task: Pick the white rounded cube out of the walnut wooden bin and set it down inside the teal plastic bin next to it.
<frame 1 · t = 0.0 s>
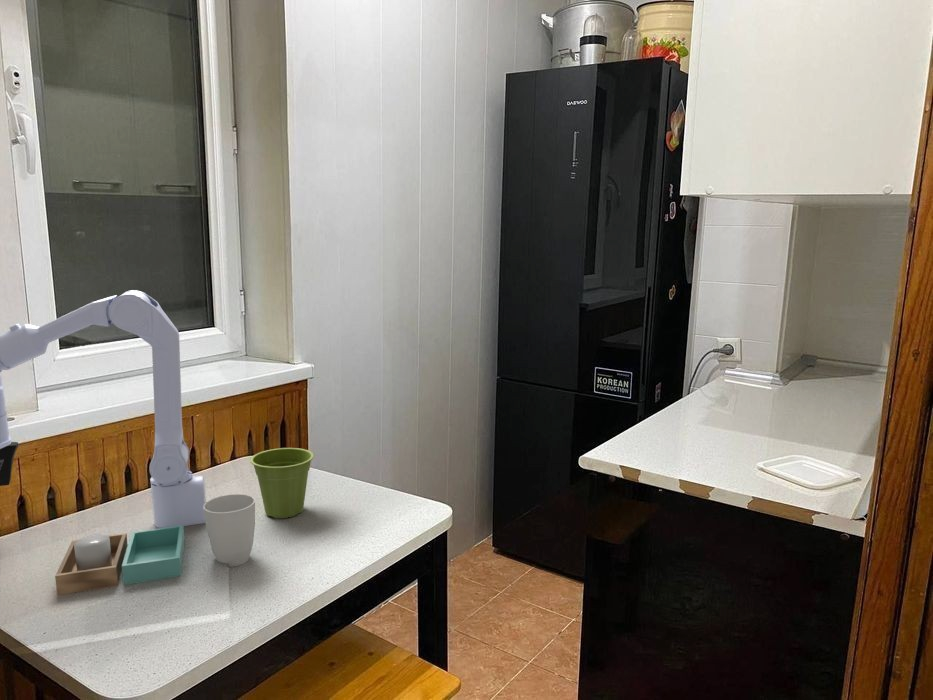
white rounded cube: (95, 570, 113), point 1 cm above the table, touching walnut bin
cup: (233, 560, 118), on the table
walnut bin: (95, 575, 113), on the table
teal bin: (156, 566, 116), on the table
plant pot: (285, 513, 138), on the table
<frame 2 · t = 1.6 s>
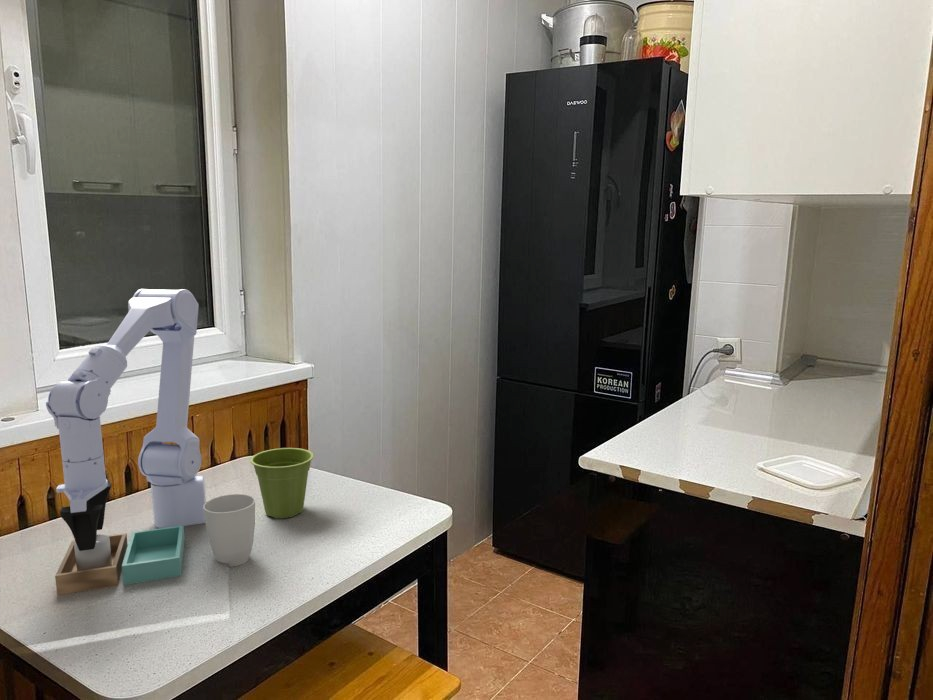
hand: (91, 539, 112), 6 cm above the table, tool pointing down, fingers open, 7 cm apart
nothing on the table moved.
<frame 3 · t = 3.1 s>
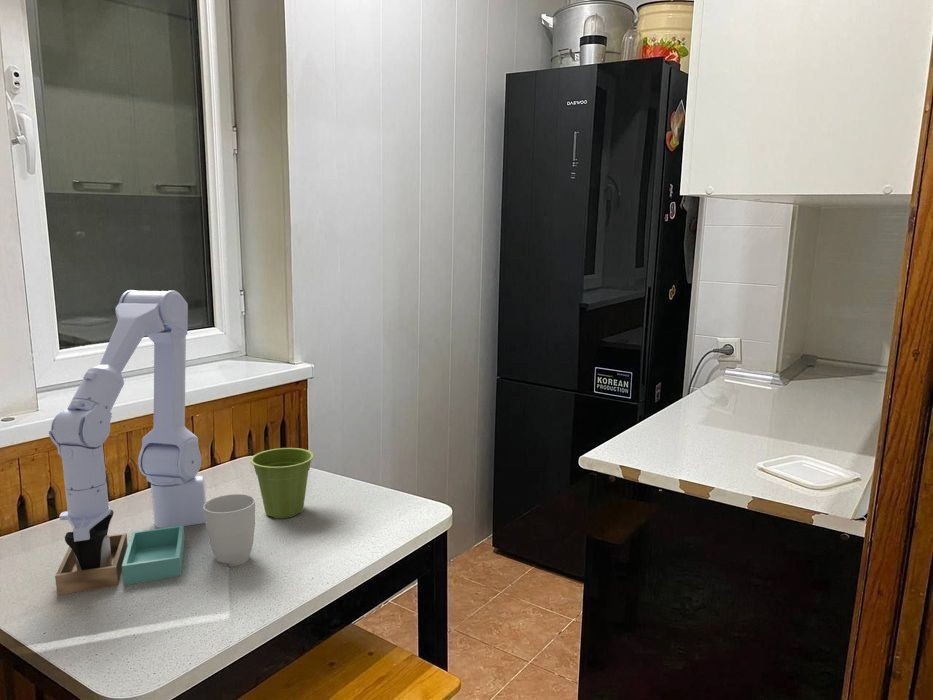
hand: (94, 565, 113), 2 cm above the table, tool pointing down, fingers closed on white rounded cube, 5 cm apart
white rounded cube: (95, 570, 113), point 1 cm above the table, touching gripper, walnut bin
everything else where it was.
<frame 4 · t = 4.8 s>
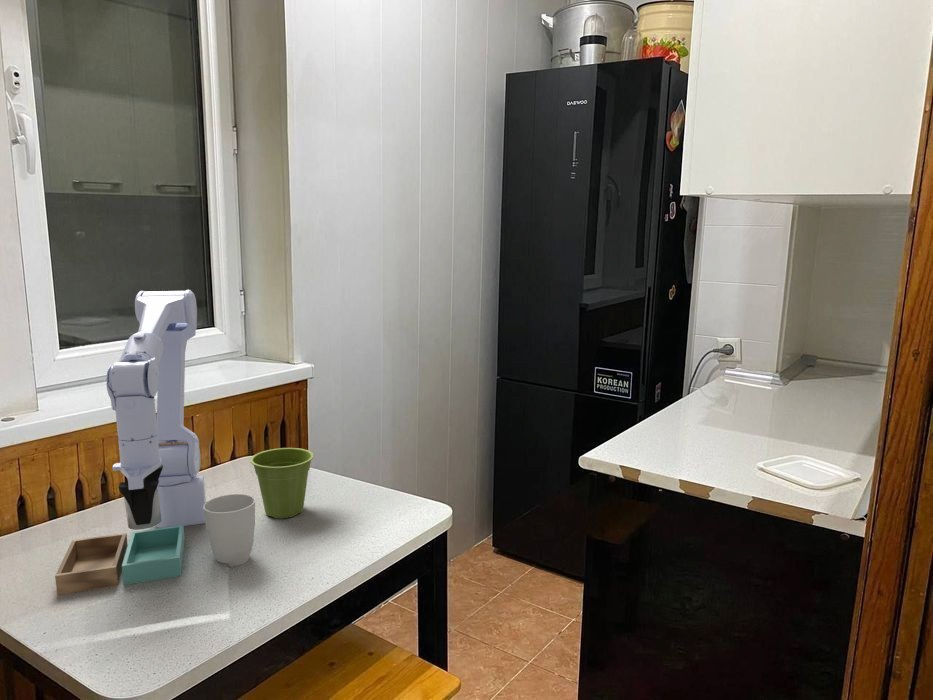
hand: (145, 516, 114), 9 cm above the table, tool pointing down, fingers closed on white rounded cube, 5 cm apart
white rounded cube: (144, 523, 114), point 8 cm above the table, touching gripper
everything else where it was.
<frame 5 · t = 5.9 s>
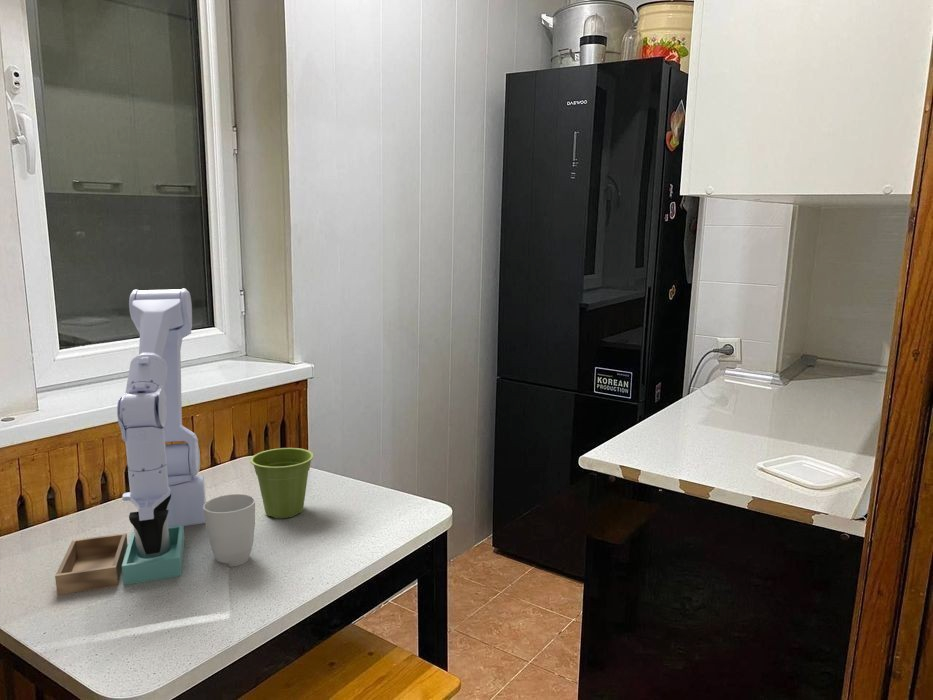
hand: (154, 545, 115), 4 cm above the table, tool pointing down, fingers closed on white rounded cube, 5 cm apart
white rounded cube: (154, 551, 115), point 3 cm above the table, touching gripper
everything else where it was.
when the fingers open (4 cm above the table, at t = 6.8 s): white rounded cube drops 2 cm, resting on teal bin.
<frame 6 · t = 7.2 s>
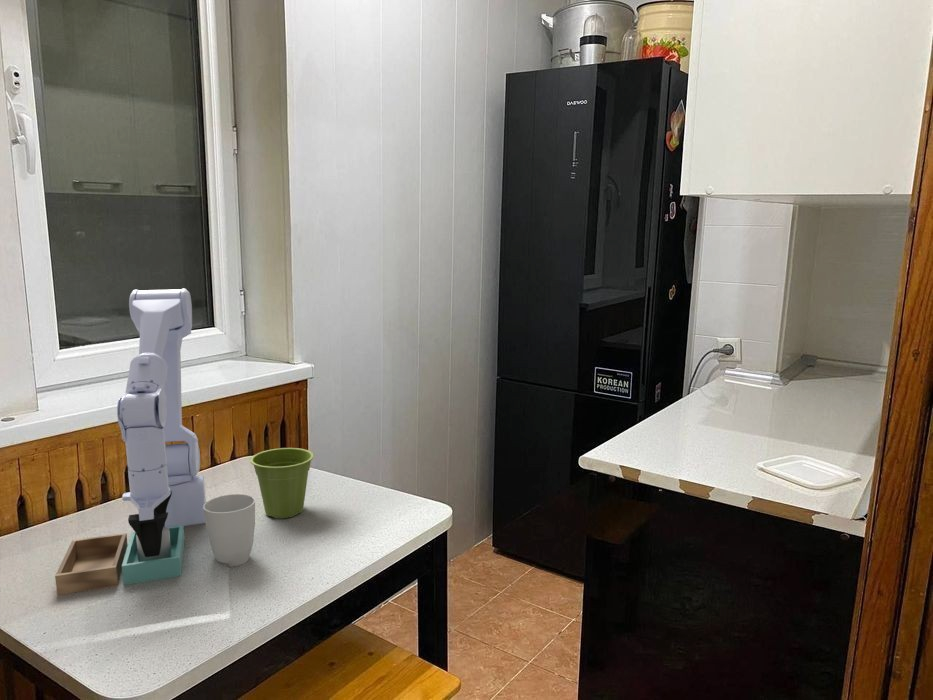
hand: (154, 545, 115), 4 cm above the table, tool pointing down, fingers open, 7 cm apart
white rounded cube: (155, 561, 116), point 1 cm above the table, touching teal bin
everything else where it was.
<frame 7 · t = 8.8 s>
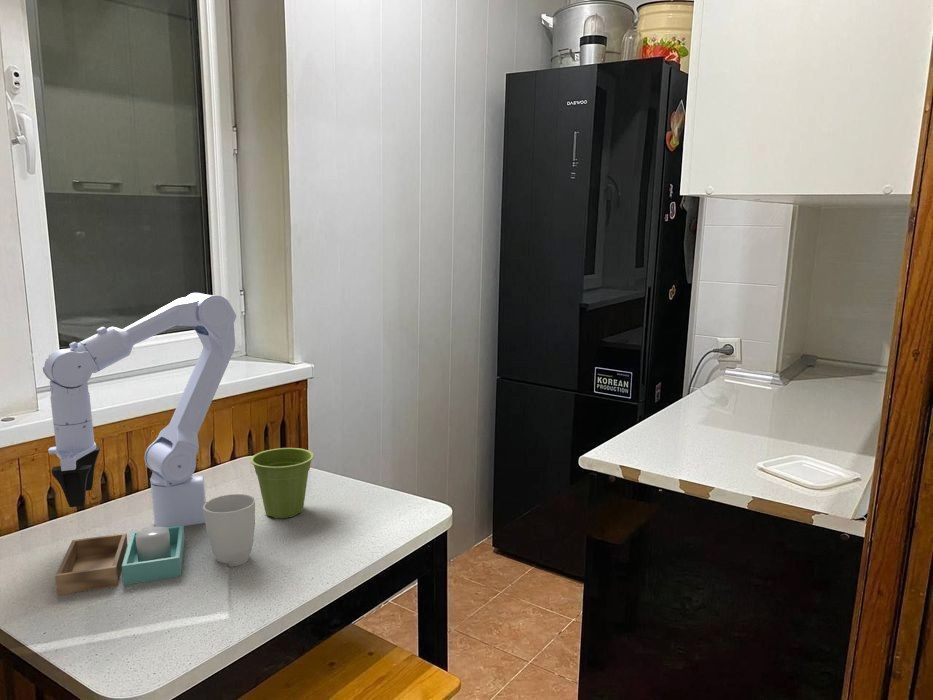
hand: (81, 497, 121), 9 cm above the table, tool pointing down, fingers open, 7 cm apart
nothing on the table moved.
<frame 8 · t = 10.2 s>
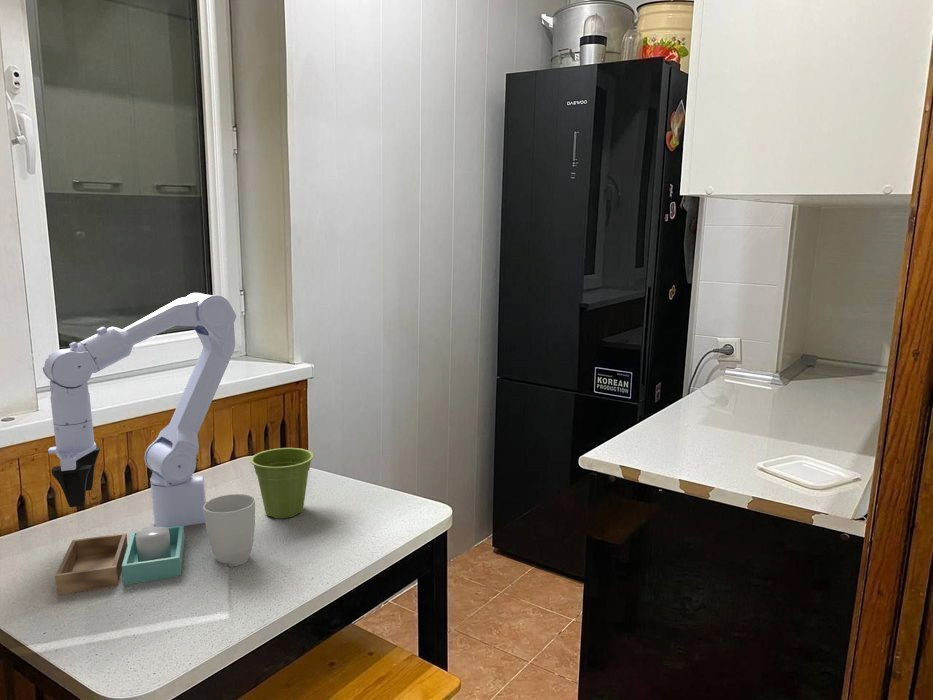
hand: (81, 497, 121), 9 cm above the table, tool pointing down, fingers open, 7 cm apart
nothing on the table moved.
at the end: white rounded cube inside the target area on the teal bin (0.1 cm from its centre), point 0.8 cm above the teal bin's base; the gripper is holding nothing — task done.
